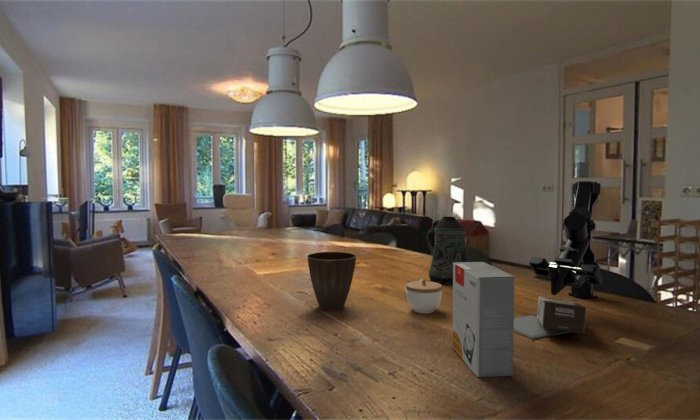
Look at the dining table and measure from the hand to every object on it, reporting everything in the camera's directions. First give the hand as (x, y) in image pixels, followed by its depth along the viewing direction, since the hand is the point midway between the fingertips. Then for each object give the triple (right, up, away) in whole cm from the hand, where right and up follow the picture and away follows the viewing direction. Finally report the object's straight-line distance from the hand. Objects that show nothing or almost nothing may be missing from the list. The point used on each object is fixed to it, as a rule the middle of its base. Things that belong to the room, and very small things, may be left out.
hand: (553, 294), depth 120 cm
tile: (-8, -7, -6) cm, 13 cm away
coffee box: (0, -4, -1) cm, 4 cm away
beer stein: (-18, -5, +50) cm, 54 cm away
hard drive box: (-28, -9, -28) cm, 41 cm away
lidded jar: (-34, -7, +10) cm, 36 cm away
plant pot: (-62, -7, +14) cm, 63 cm away
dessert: (-30, -6, +34) cm, 46 cm away
